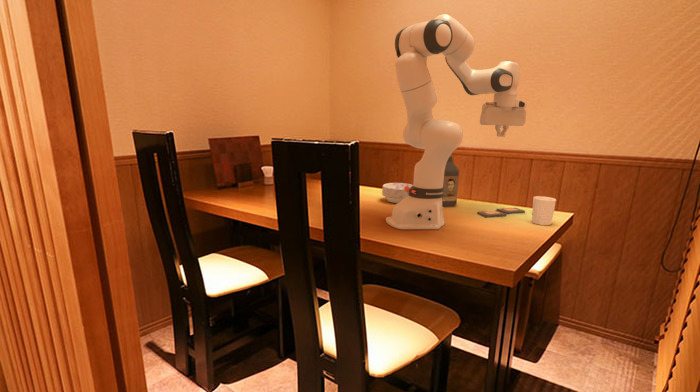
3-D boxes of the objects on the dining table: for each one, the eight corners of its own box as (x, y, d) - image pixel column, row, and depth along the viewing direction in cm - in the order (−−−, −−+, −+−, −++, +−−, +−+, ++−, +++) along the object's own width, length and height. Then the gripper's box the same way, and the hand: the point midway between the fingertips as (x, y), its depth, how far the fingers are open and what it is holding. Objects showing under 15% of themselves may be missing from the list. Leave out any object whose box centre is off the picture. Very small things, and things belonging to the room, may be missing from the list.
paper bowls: (378, 203, 173) (379, 186, 171) (385, 197, 187) (386, 181, 186) (411, 206, 169) (412, 189, 167) (415, 199, 183) (416, 183, 181)
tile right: (505, 214, 158) (505, 211, 158) (496, 210, 164) (496, 208, 164) (524, 213, 161) (525, 210, 161) (515, 209, 167) (515, 207, 166)
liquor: (431, 202, 176) (435, 139, 170) (448, 202, 178) (453, 139, 172) (440, 207, 168) (445, 140, 161) (458, 206, 170) (464, 140, 164)
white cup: (556, 226, 142) (559, 201, 140) (534, 225, 143) (537, 200, 141) (547, 220, 150) (551, 196, 147) (527, 219, 150) (530, 195, 148)
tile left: (485, 217, 152) (486, 214, 152) (477, 214, 158) (477, 211, 157) (506, 216, 155) (506, 213, 155) (496, 212, 160) (497, 210, 160)
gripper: (487, 101, 148) (484, 136, 150) (530, 103, 153) (525, 137, 156) (478, 102, 154) (475, 135, 156) (519, 104, 159) (515, 136, 162)
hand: (500, 136), depth 156 cm, fingers closed
